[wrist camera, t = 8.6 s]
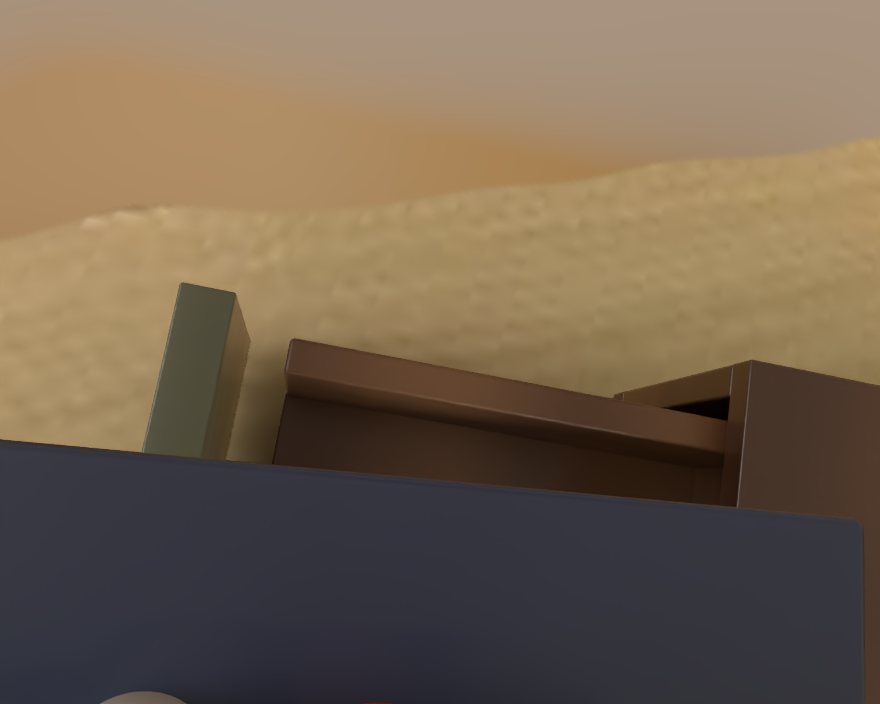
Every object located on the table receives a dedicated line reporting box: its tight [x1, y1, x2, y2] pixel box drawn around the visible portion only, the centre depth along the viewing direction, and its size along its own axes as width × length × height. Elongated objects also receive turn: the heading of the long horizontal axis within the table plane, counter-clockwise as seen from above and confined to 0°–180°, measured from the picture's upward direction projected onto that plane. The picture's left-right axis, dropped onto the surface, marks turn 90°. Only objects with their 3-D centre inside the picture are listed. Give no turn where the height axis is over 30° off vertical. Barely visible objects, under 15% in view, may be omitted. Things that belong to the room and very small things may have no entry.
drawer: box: [142, 282, 728, 506], centre depth 20 cm, size 17×11×6 cm
